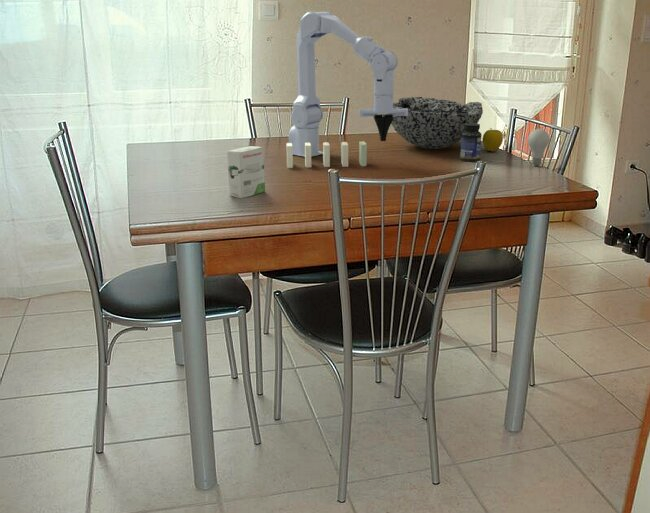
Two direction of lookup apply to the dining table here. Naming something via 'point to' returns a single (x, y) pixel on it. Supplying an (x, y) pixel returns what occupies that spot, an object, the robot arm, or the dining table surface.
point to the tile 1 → (289, 155)
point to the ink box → (246, 171)
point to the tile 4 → (344, 154)
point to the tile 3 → (326, 154)
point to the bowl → (434, 121)
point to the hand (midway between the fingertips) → (382, 140)
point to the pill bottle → (470, 142)
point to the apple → (492, 139)
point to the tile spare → (363, 153)
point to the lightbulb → (538, 145)
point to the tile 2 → (307, 155)
